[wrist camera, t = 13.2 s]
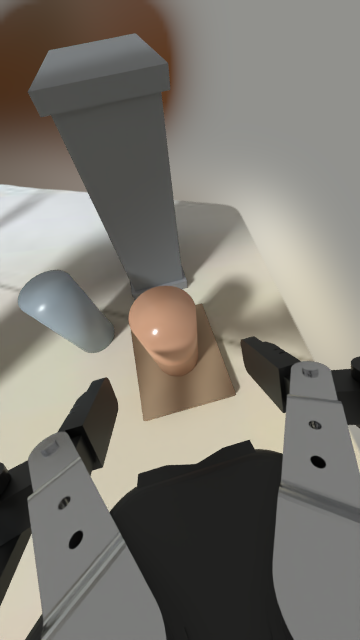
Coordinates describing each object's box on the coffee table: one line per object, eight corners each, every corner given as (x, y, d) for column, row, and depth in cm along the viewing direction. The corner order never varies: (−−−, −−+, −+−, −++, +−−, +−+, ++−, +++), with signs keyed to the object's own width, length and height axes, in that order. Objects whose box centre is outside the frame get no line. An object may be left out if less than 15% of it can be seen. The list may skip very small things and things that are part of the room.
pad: (146, 421, 21) (143, 420, 20) (132, 325, 27) (129, 322, 26) (234, 395, 21) (236, 394, 20) (201, 307, 27) (201, 303, 26)
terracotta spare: (160, 381, 22) (133, 353, 13) (153, 341, 24) (125, 294, 15) (203, 369, 22) (205, 333, 13) (191, 331, 24) (186, 279, 15)
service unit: (135, 301, 29) (28, 92, 11) (125, 240, 35) (49, 50, 17) (187, 287, 29) (167, 63, 11) (167, 230, 36) (135, 33, 18)
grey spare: (78, 357, 25) (13, 320, 16) (78, 324, 28) (22, 277, 19) (116, 347, 25) (71, 305, 17) (113, 315, 28) (73, 264, 19)
